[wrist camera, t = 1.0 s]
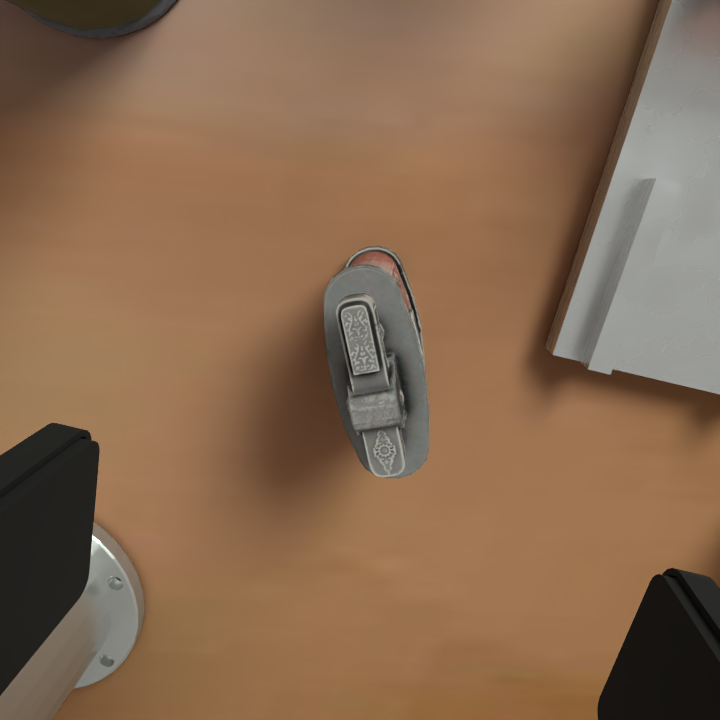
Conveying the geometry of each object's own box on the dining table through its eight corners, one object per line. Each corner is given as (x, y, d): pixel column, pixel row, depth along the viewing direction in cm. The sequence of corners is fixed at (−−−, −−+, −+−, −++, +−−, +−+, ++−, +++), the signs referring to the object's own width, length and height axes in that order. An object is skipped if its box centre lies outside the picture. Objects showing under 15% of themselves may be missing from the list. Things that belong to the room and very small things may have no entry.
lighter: (435, 401, 29) (448, 507, 19) (368, 412, 29) (347, 521, 19) (405, 238, 26) (402, 266, 17) (333, 253, 27) (291, 288, 17)
